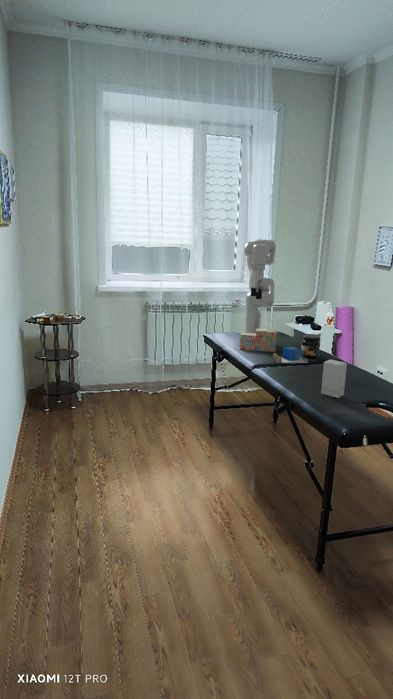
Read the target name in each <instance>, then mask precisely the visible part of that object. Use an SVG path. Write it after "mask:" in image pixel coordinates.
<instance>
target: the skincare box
mask: <svg viewBox="0 0 393 699" xmlns="http://www.w3.org/2000/svg"><path fill="white" fill-rule="evenodd" d="M347 366H348V362H345V361H339V360H335V359H328V360H326V361H324V362H323V367H322V380H321V390H320V394H321V393H322V394H325V395H329V396H332V397H336V398H339V397H341V396H343V395H345V387H346V386H345V385H346V378H347V376H346V375H347ZM343 397H344V396H343ZM341 398H342V397H341ZM339 399H340V398H339Z"/></svg>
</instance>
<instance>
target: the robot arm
mask: <svg viewBox="0 0 393 699" xmlns="http://www.w3.org/2000/svg"><path fill="white" fill-rule="evenodd" d="M276 246H277V245H276V242H275V241H274V240H273V239H256V240H254V241H247V242H246V243H245V245H244V249H243V253H244V256H245V257H246V265H247V268H248V271H249V282H248V288H249V292H248V293H246V296H245V305H246V306H245V308H246V309H245V325H244V333H255V334H256V329H261V321H262V320H261V319H262V313H261V311H260V310H259V308H265V309H266V308H267V309H269V308H272V307H273V306H274V302H275V281H274V280H273V279H272V278H270V277H264V275H265V270H266V266H271V265H273V264H274V262H275V257H276V256H275V255H276V248H277V247H276Z"/></svg>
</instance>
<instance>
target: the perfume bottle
mask: <svg viewBox="0 0 393 699" xmlns="http://www.w3.org/2000/svg"><path fill="white" fill-rule="evenodd" d="M282 348H283V349H282V356H281V358H284V359H286V360H288V361H294V360H299V359H300V358H301V356H303V355H305V354H306V351H305V350H301V349H299V348H297V347H294V346H283V347H282Z"/></svg>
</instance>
